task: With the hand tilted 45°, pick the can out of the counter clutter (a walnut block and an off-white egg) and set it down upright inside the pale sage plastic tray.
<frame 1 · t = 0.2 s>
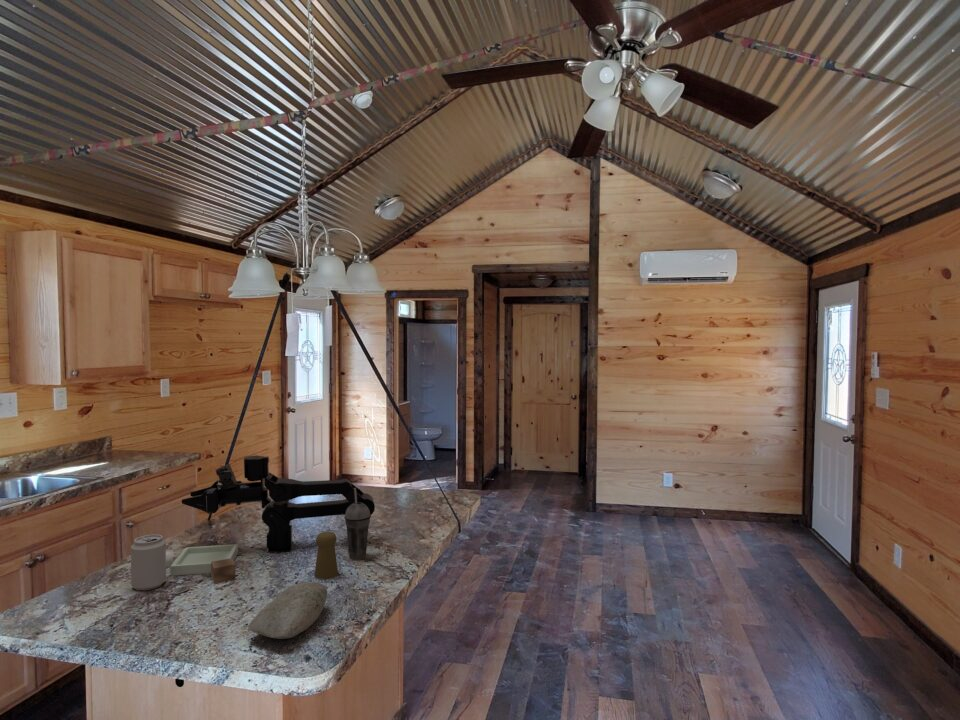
hand: (186, 497, 161), 16 cm above the countertop, tool horizontal, fingers open, 9 cm apart
walnut block: (223, 578, 146), on the countertop
beverage cup: (357, 558, 161), on the countertop
cork: (326, 575, 148), on the countertop
off-white egg: (163, 566, 154), on the countertop
tray: (206, 563, 155), on the countertop
rock: (294, 627, 121), on the countertop
can: (148, 586, 141), on the countertop
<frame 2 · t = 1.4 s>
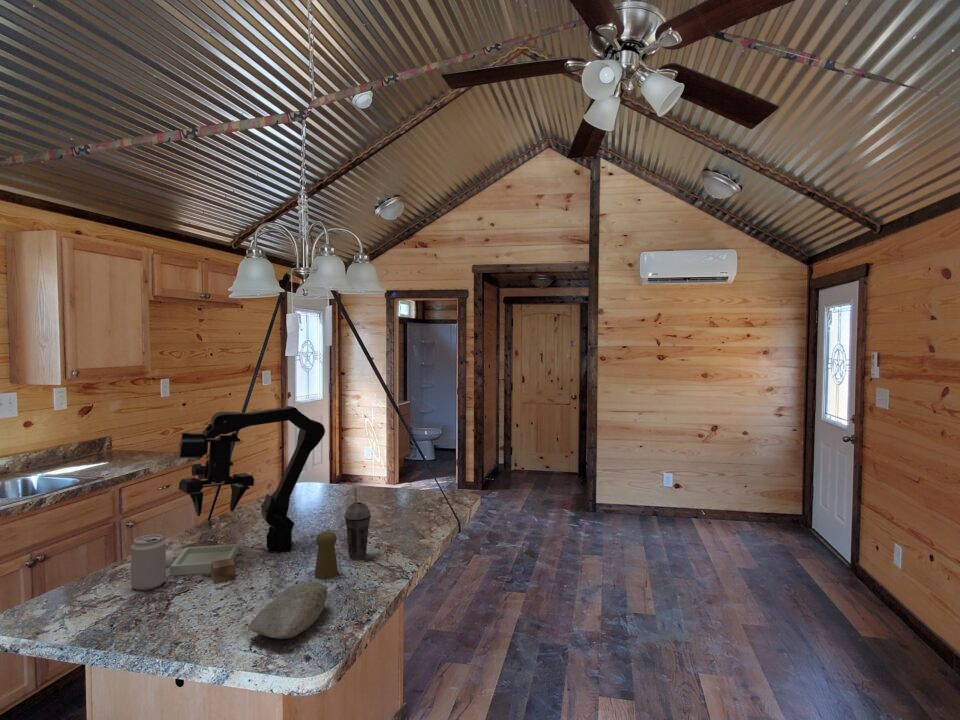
hand: (215, 513, 157), 13 cm above the countertop, tool pointing down, fingers open, 9 cm apart
nothing on the countertop moved.
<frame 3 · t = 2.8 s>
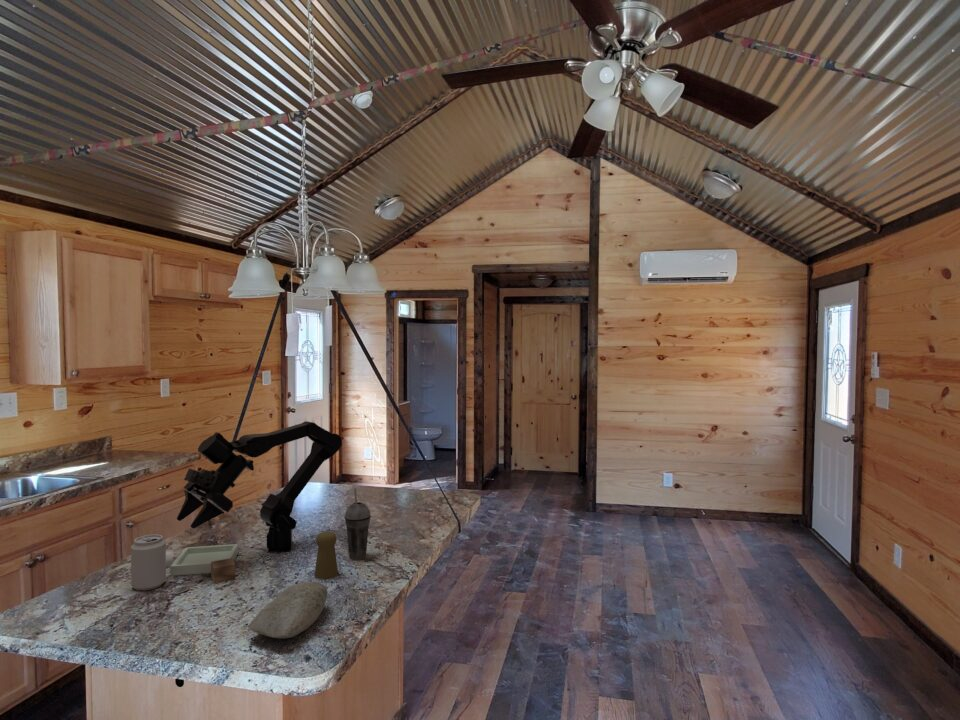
hand: (184, 523, 147), 13 cm above the countertop, tool tilted 45°, fingers open, 9 cm apart
nothing on the countertop moved.
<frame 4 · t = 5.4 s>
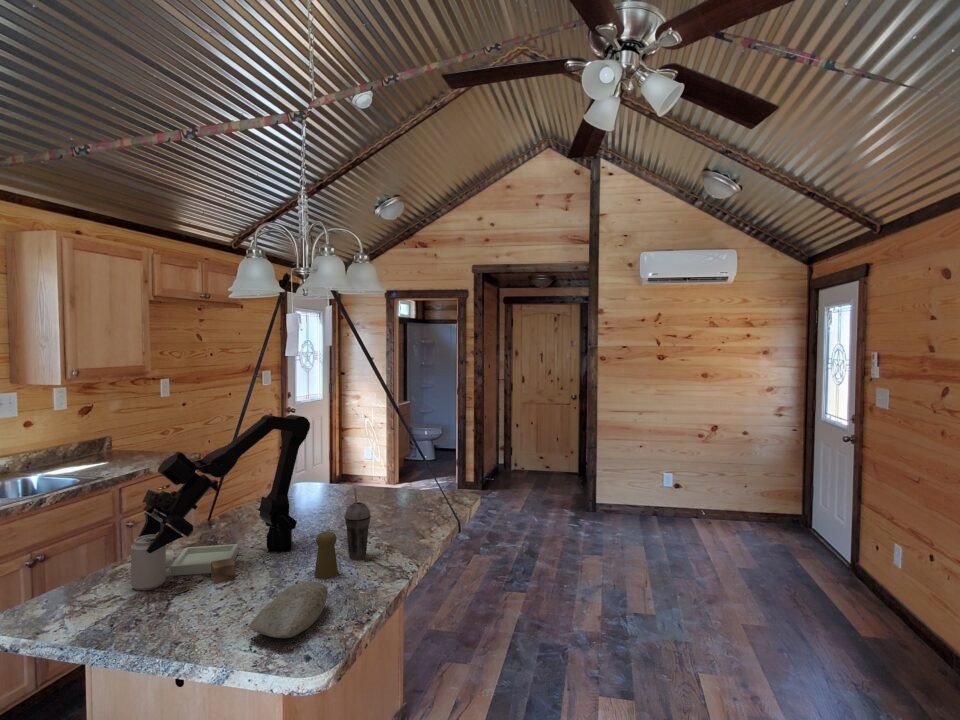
hand: (142, 548, 140), 10 cm above the countertop, tool tilted 45°, fingers closed on can, 7 cm apart
can: (148, 586, 141), on the countertop, touching gripper
everything else where it was.
when the fingers open (12 cm above the countertop, at t = 8.3 s): can drops 1 cm, resting on tray.
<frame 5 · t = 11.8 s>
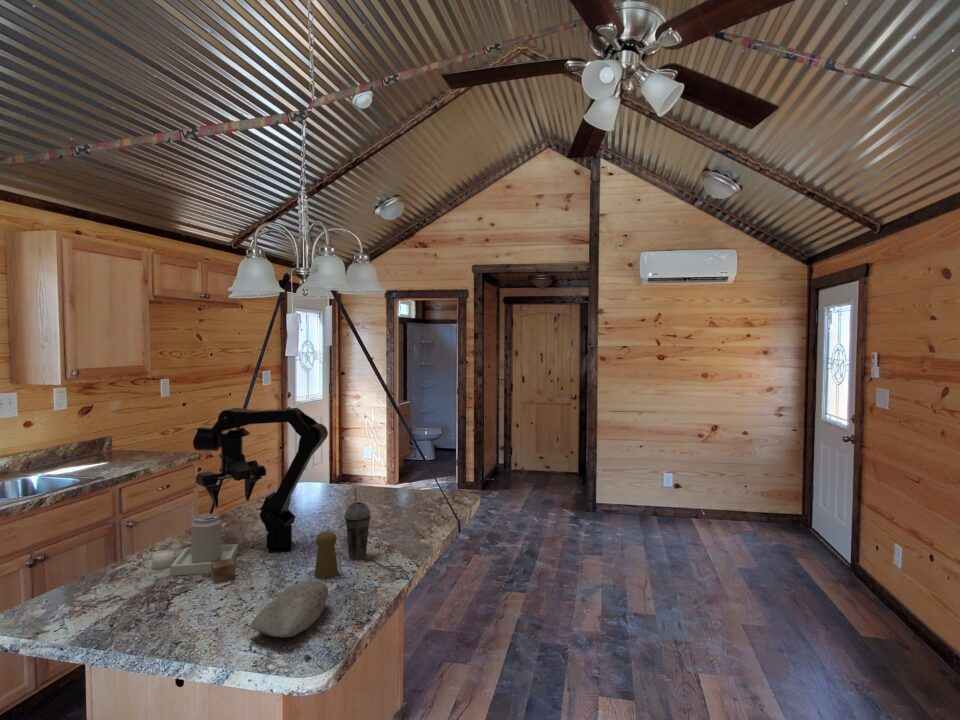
hand: (232, 503, 167), 13 cm above the countertop, tool pointing down, fingers open, 9 cm apart
can: (206, 560, 155), point 1 cm above the countertop, touching tray
everything else where it was.
at the end: can inside the target area on the tray (0.2 cm from its centre), point 0.8 cm above the tray's base; can tilted 0°; the gripper is holding nothing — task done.
